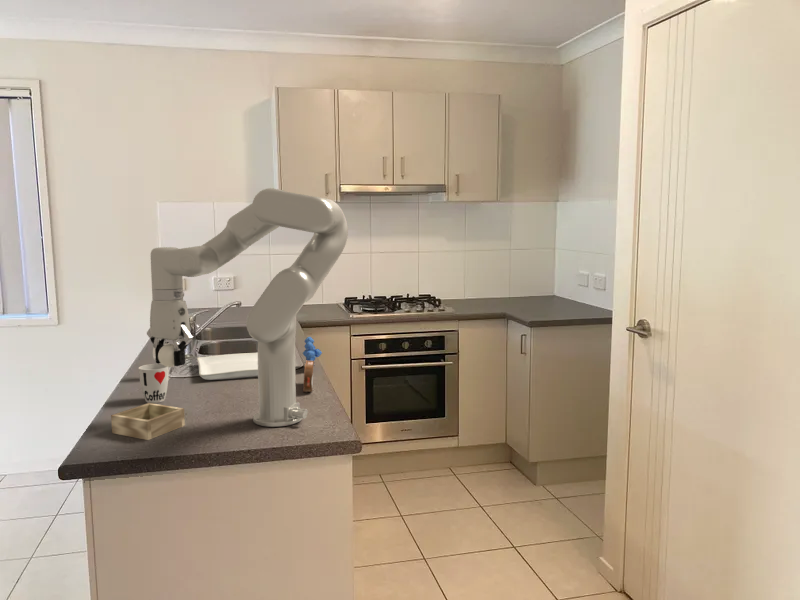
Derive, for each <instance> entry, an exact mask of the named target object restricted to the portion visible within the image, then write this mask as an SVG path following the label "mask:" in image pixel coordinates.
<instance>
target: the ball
mask: <svg viewBox="0 0 800 600" xmlns="http://www.w3.org/2000/svg"><path fill="white" fill-rule="evenodd" d="M174 351H176V350H175V347H174V343H170V344H167V345H164V346H163V347H162V348H161V349H160V350H159V353H158V359H159V361H160V363H159V364H162V365H164V366H166V367H169V368H173V367H176V366H175V365H174Z"/></svg>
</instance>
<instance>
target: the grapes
mask: <svg viewBox="0 0 800 600" xmlns="http://www.w3.org/2000/svg"><path fill="white" fill-rule="evenodd" d="M304 343H305V344H304V348H305V350H304V351H303V352H302V354H303V356H304V357H305V362H304V364H305V363H306V360H308V361H314V367H315V363H316V362H315V360H316V358H319V357H321V355H322V354H323V352H322V351H321V349H319V348H316V346H315V345H314V343H315V340H314V338H312V336H308V337H306V338H305V339H304Z"/></svg>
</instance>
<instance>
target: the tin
mask: <svg viewBox="0 0 800 600" xmlns="http://www.w3.org/2000/svg"><path fill="white" fill-rule="evenodd" d="M305 361H306V363H305V362H304V371H303V388H302V389H303V393H312V392H313V388H314V368H315V366H314V365H315V363H314V362H315V360H314V361H308V360H306V359H305Z"/></svg>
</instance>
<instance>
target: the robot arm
mask: <svg viewBox="0 0 800 600" xmlns="http://www.w3.org/2000/svg"><path fill="white" fill-rule="evenodd" d="M348 226H349V225H348V222H347V218H346V215H345V214H344V211H343V209H342V208H341V206H340V205H339V204H338V203H337V202H335V200H332V199H330V198H327V197H321V196H320V197H319V196H313V195H306V194H301V193H296V192H290V191H285V190H282V189H279V188H274V187H273V188H271V187H268V188H265V189H262V190H260V191H259V192H257V194H256V195H255V196H254V198H253V200H252V203H250V204H249V205H248V206H246V207H244V208H242V209H241V210H240V211H238V212H237V213H235V214H234V215H232V216H231V217H230V218H229V219H228V220H227V221H226V225H225V227H224V229H223V230H222V231H220V233H218V234H217V235H216V236H214V237H212V238H211V239H209V240H208V241H205V243H204V244H202V245H197V246H191V247H190V246H189V247H183V248H177V247H171V246H169V247H168V246H167V247H165V246H163V247H154V248H153V249H151V251H150V275H151V276H150V277H151V294H152V295H151V296H152V300H151V303H150V311H149V329H148V330H147V331H146V336H147V337H148V338H149V339H150V342H151V343H152V346H153V347H154V348H156V349H155V356H156V360H155V364H161V363H160V361H159V359H158V353H159V350H160V349H161V348H162V347H163V346H164V345H165V342H167V341H166V340H169V341H172V342H173V343H172V344H174V347H175V350H176V351H174V365H175V366H174V367H180V366H185V364H186V350H187V349H188V348H187V347H188V346H189V344H190V343H191V341H192V340H193V339H194V336H193V335H192V334H191V327H190V326H191V325H190V324H191V323H190V315H189V310H188V306H187V302H186V300H184V297H185V292H184V288H183V286H184V285H183V281H184V280H183V277H187V278H195V277H200V276H204V275H207V274H208V275H209V274H211V273H213V272H214V271H217V270H218V269H220V268H221V267H223V266H224V265H225V264H227V263H229V262H230V261H232V260H233V259H235V258H236V257H237V256H239V255H240V254H241V253H243V252H244V251H246V250H247V249H248V248H249V247H251V246H252V245H254V244H255V243H256V242H258V241H260V240H261V239H262V238H264V237H266V236H267V235H269V234H270V233H272V232H273V231H275V230H277V229H278V228H280V227H281V228H286V229H291V230H298V231H303V232H307V233H308V232H309V233H313V235H312V237H311V239H310V240H309V242H308V243H306V245H305V247H303V249H302V250H301V252H300V254H299V255H298V257H297V258H296V259H295V261H294V262H293V263H292V264H291V266H289V267H287V268H284V269H282V270H281V271H279V272H278V273H276V275H275V276H274V277H273V278H272V279H271V281H270V282H269V284H268V285H267V286H266V288H265V289H264V291H263V292H262V293H261V294H260V295H259V296H260V297H259V298H258V299H257V300H256V302H255V304H253V306H252V308H251V309H250V311H249V312H248V314H247V317H246V323H245V324H246V329H247V332H248V335H249V336H250V337H251V338H252V339H254V340H255V341H256V342H257V353H258V377H257V384H258V388H257V389H258V391H257V392H258V412H257V413H254V415H253V417H252V418H253V419H252V420H253V423H254V424H256V425H258V426H262V427H267V428H268V427H269V428H271V427H272V428H275V427H278V428H279V427H285V426H292V425H295V424H297V423H299V422H300V421H302V420H304V419H306V418H307V417H308V412H309V410H308V409H307V408H301V407H300V402H299V401H297V392H296V391H297V389H296V387H297V385H296V335H297V333H296V332H297V314H298V313H299V311H300V310H301V308H302V307H303V306H304V304H306V303H307V302H309V301H311V299H312V298H313V297H314V296H315V294H316V292H317V290H318V289H319V288H320V286H321V285H322V283H323V281H324V280H325V279H326V277H327V276H328V274H329V272H331V269H332V268H333V267H334V266H335V264H336V263H337V261H338V259H339V258H340V256H341V255H342V253H343V251H344V249H345V247H346V245H347V242H348V235H349V227H348ZM153 347H152V348H153Z"/></svg>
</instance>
